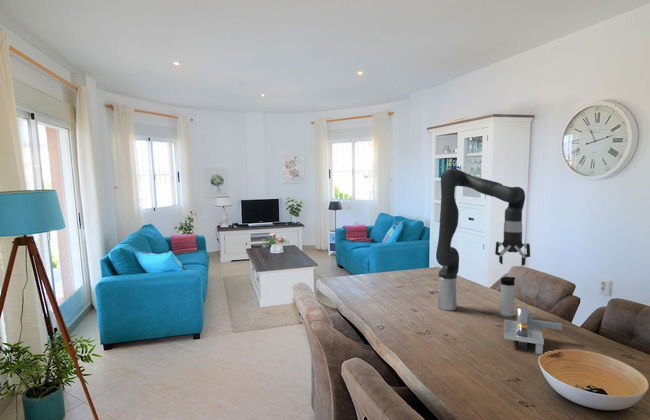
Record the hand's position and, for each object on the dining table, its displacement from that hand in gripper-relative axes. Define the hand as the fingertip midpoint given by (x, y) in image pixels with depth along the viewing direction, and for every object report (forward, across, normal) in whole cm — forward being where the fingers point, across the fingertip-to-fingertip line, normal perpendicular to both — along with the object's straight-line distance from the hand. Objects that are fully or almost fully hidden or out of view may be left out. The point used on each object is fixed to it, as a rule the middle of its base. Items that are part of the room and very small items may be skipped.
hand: (511, 264), depth 163 cm
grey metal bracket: (+30, +8, -15) cm, 35 cm away
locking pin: (+30, +4, -20) cm, 36 cm away
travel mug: (+30, -1, +14) cm, 33 cm away
